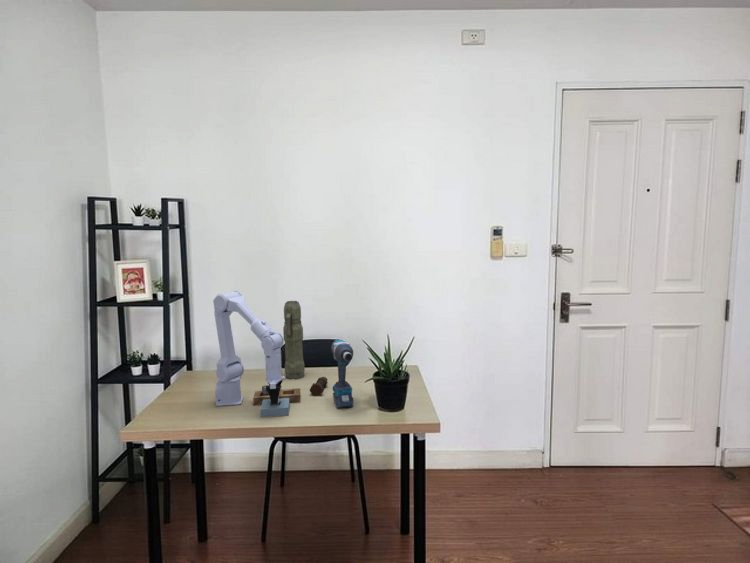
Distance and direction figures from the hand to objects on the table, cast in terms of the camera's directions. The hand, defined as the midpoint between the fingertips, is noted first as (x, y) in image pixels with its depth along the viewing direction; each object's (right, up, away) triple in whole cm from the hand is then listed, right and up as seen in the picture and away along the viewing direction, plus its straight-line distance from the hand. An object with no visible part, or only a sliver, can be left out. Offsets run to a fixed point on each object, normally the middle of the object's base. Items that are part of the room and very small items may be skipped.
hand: (275, 401), depth 184 cm
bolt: (+15, -1, +23) cm, 28 cm away
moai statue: (+1, +1, +42) cm, 42 cm away
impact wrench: (+26, -3, +5) cm, 26 cm away
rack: (-1, -3, +12) cm, 12 cm away
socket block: (0, -4, +1) cm, 4 cm away
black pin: (-6, -3, +11) cm, 13 cm away
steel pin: (0, -4, +1) cm, 4 cm away
